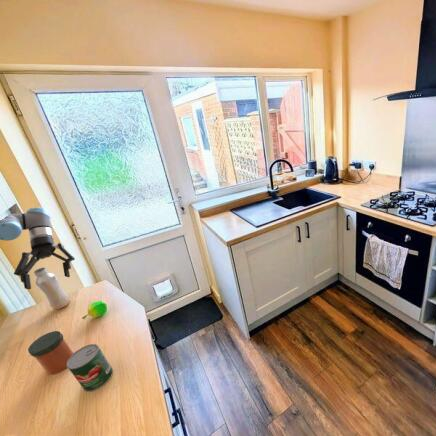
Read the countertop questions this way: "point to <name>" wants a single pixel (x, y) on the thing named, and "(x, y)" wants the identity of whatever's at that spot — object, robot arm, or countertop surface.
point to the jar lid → (45, 344)
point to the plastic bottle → (51, 288)
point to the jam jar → (56, 358)
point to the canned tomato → (90, 367)
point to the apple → (96, 309)
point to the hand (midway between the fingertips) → (48, 282)
